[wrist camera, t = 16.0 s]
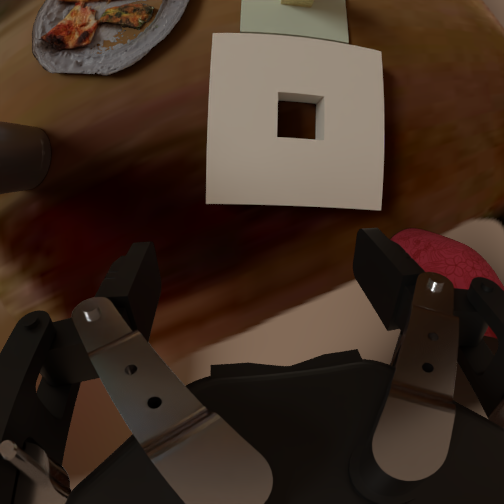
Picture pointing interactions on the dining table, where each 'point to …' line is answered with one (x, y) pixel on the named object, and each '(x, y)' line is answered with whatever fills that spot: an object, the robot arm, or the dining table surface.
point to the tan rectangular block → (298, 3)
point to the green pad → (296, 19)
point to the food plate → (98, 33)
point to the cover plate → (294, 149)
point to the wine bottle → (446, 259)
